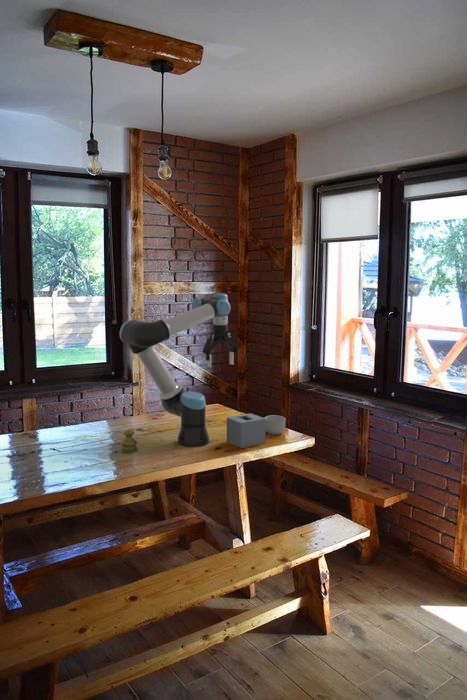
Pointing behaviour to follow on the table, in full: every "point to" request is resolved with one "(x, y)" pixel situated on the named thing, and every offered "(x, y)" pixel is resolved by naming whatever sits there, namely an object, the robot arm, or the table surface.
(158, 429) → the table surface
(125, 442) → the olive chess piece
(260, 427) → the box
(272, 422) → the teacup
